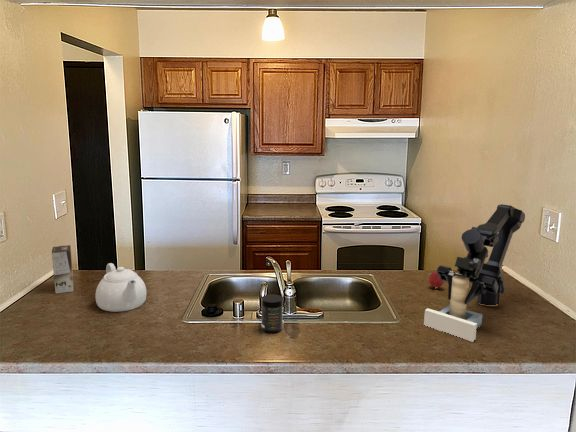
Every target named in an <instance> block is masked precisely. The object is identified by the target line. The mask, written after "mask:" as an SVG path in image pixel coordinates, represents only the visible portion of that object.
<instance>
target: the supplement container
mask: <svg viewBox="0 0 576 432" xmlns="http://www.w3.org/2000/svg"><path fill="white" fill-rule="evenodd" d="M260 304H261V330H262V331H263V332H265V333H268V334H277V333H280V332H281V331H282V330H283V317H284V316H283V309H284V306H283V305H284V297H283V296H281V295H279V294H271V293H270V294H266V295H263V296H261V303H260Z"/></svg>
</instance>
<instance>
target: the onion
mask: <svg viewBox="0 0 576 432" xmlns="http://www.w3.org/2000/svg"><path fill="white" fill-rule="evenodd" d="M428 283H429V285H430V286H431V287H432V286H433V287H439V288H440V287H442V286H443V285H444V283H445V281H444V280H441V279H440V278H439V276H438V274H437V272H436V270H435V271H434V272H432V273H431V274H430V275H429V277H428ZM433 287H432V288H433Z"/></svg>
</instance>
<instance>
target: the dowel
mask: <svg viewBox="0 0 576 432" xmlns="http://www.w3.org/2000/svg"><path fill="white" fill-rule="evenodd" d="M469 286H470V282H469V278H467V277H465V276H453V278H452V289H451V299H450V300H449V305H450V311H449V315H451V316H455V317H458V318H461V319H464V320H465V319H466V310H468V309H467V307H468V306H467V305H468V304H465V300H466V297H467V295H468V293H469V290H470V289H469V288H470V287H469Z"/></svg>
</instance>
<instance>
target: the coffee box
mask: <svg viewBox="0 0 576 432" xmlns="http://www.w3.org/2000/svg"><path fill="white" fill-rule="evenodd" d="M51 257H52V268H53V270H52V271H53V281H54V290H55V293H54V294H61V293H62V294H63V293H70V292H71V293H72V292H74V274H73V273H74V271H73V262H72V250H71V245H70V244H69V245H68V244H67V245H58V246H52V249H51Z"/></svg>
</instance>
